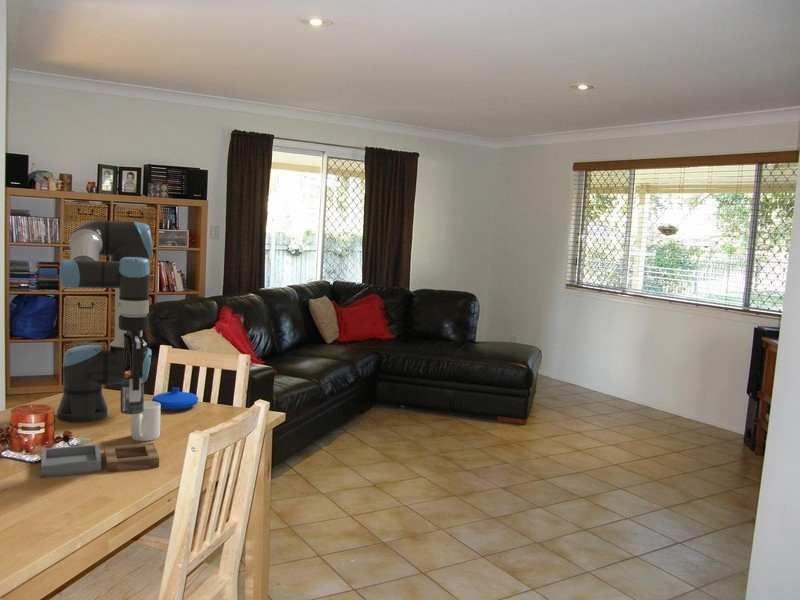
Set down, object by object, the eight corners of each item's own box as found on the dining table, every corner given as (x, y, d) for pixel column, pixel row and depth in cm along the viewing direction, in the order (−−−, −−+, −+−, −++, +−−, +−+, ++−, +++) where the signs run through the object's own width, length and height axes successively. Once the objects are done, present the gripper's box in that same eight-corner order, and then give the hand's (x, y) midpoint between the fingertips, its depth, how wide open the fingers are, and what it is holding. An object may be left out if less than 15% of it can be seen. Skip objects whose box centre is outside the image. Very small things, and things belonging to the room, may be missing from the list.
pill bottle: (127, 407, 190) (128, 368, 189) (147, 410, 190) (148, 370, 188) (116, 413, 184) (116, 373, 183) (136, 416, 184) (137, 375, 182)
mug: (150, 446, 201) (151, 412, 200) (122, 445, 200) (122, 411, 199) (163, 433, 213) (164, 401, 212) (136, 432, 212) (137, 400, 211)
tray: (42, 459, 186) (42, 448, 185) (98, 454, 192) (98, 444, 192) (41, 478, 173) (40, 466, 173) (100, 471, 179) (101, 461, 179)
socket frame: (103, 452, 194) (103, 443, 194) (152, 447, 200) (152, 439, 199) (107, 472, 180) (107, 462, 179) (159, 466, 186) (159, 457, 185)
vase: (202, 402, 251) (203, 383, 250) (192, 414, 235) (193, 394, 234) (158, 400, 249) (159, 381, 248) (146, 412, 234) (146, 392, 233)
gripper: (112, 309, 190) (111, 390, 192) (125, 321, 174) (124, 408, 177) (140, 309, 194) (139, 388, 196) (156, 320, 178) (154, 406, 181)
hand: (132, 397), depth 187 cm, fingers closed on pill bottle, 6 cm apart
